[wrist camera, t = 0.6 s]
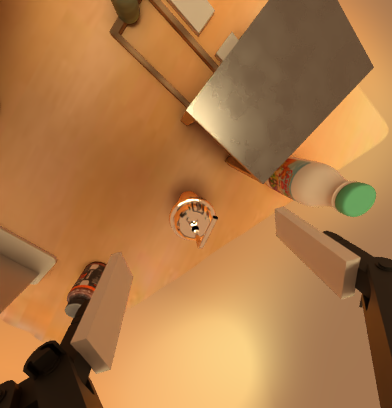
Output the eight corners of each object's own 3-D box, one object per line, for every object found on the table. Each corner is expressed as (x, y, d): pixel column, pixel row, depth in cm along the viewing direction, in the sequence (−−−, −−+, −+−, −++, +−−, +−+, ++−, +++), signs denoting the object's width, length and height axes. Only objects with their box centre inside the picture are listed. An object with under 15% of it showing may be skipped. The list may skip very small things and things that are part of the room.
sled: (104, 28, 29) (55, -47, 17) (135, -24, 28) (105, -150, 15) (228, 147, 38) (254, 153, 26) (257, 114, 37) (299, 103, 25)
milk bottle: (289, 149, 40) (387, 161, 22) (297, 178, 43) (390, 212, 25) (257, 165, 41) (328, 190, 22) (267, 193, 44) (338, 237, 25)
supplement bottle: (90, 257, 44) (65, 295, 34) (114, 266, 46) (97, 305, 35) (81, 275, 46) (54, 317, 35) (104, 283, 47) (85, 325, 37)
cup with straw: (162, 200, 41) (153, 255, 23) (190, 173, 40) (205, 206, 21) (188, 223, 44) (199, 288, 26) (215, 198, 43) (248, 248, 24)
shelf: (180, 120, 36) (185, 110, 21) (245, 34, 32) (308, -53, 17) (229, 165, 40) (263, 184, 25) (292, 94, 36) (373, 67, 22)
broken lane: (138, -32, 28) (127, -86, 21) (154, -59, 27) (148, -124, 20) (260, 109, 37) (280, 103, 30) (275, 92, 36) (298, 82, 29)
